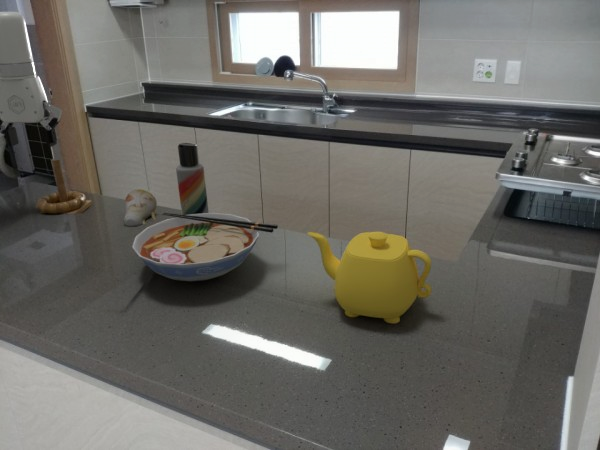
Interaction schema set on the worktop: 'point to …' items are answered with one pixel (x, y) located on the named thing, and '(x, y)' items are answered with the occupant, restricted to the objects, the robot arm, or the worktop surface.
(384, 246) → the teapot
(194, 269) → the ramen bowl
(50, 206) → the ring
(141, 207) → the white round figurine
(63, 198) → the peg stand
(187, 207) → the lotion bottle
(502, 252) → the worktop surface
